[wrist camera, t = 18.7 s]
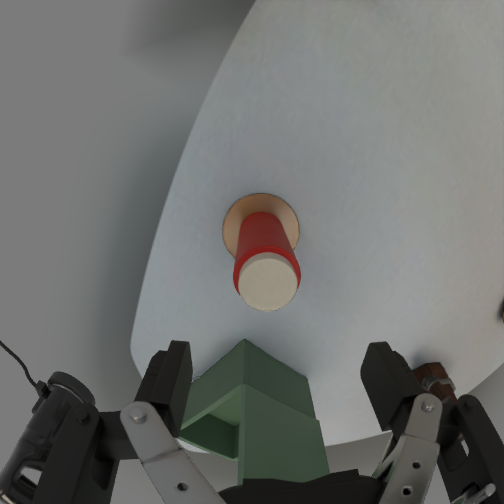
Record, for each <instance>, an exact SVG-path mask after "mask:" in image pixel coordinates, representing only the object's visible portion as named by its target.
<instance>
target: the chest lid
mask: <svg viewBox="0 0 504 504" xmlns="http://www.w3.org/2000/svg"><path fill="white" fill-rule="evenodd" d="M328 474H330V471H329V467H328V462H327V456H326V451H325V446H324V442H323V437H322V432H321V427H320V423H319V420H317V419H315V418H312V417H310V416H308V415H306V414H304V413H302V412H299V411H297V410H295V409H293V408H291V407H289V406H287V405H285V404H283V403H281V402H279V401H277V400H275V399H273V398H271V397H269V396H268V395H266V394H264V393H262V392H260V391H258V390H256V389H255V388H253V387H251V386H249V385H247V384H244V385H243V386H241V397H240V425H239V454H238V485H242V484H243V478H253V479H261V478H274V479H280V480H286V481H293V482H302V483H303V482H308V481H311V480H314V479H317V478H319V477H322V476H325V475H328Z"/></svg>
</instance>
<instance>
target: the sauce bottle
mask: <svg viewBox="0 0 504 504" xmlns="http://www.w3.org/2000/svg"><path fill="white" fill-rule="evenodd" d="M300 279H301V272H300V267H299V265H298V262H297V260H296V257H295V255H294V252H293V250H292V247H291V245H290V242H289V240H288V238H287V235H286V233H285V230H284V228H283V226H282V223H281V222H280V220H279V219H278V218H277V217H276V216H274V215H273V214H271V213H268V212H256V213H253V214H251V215H249V216H248V217H246V218H245V219H244V221H243V222H242V224H241V226H240V230H239V237H238V244H237V251H236V258H235V265H234V273H233V281H234V286H235V288H236V290H237V292H238V293H239V295H240V296H241V297H242V299H243V300H244V301H245V302H246V303H247V304H248V305H249V306H251V307H252V308H254V309H257V310H261V311H274V310H277V309H280V308H282V307H284V306H285V305H287V304H288V303H289V302H290V301H291V300H292V299H293V297H294V295H295V294H296V291H297V289H298V286H299V284H300Z"/></svg>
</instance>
